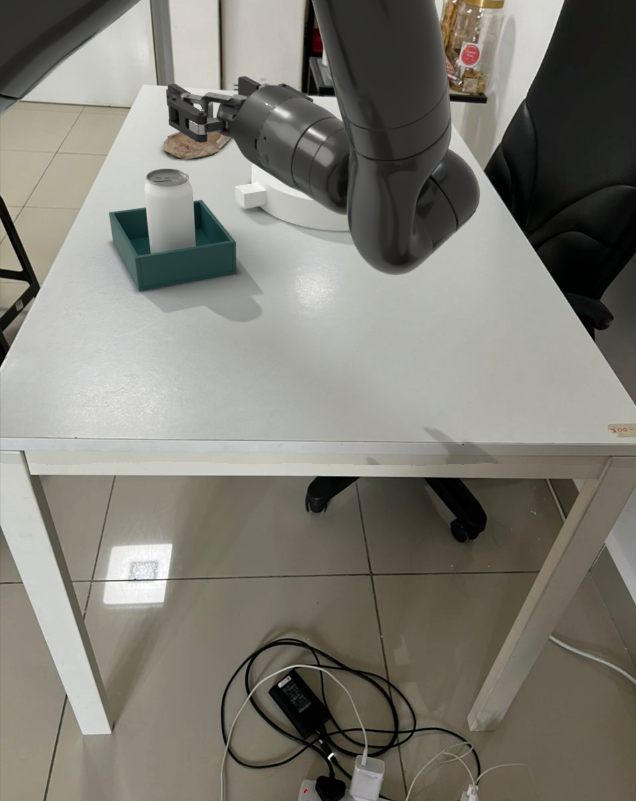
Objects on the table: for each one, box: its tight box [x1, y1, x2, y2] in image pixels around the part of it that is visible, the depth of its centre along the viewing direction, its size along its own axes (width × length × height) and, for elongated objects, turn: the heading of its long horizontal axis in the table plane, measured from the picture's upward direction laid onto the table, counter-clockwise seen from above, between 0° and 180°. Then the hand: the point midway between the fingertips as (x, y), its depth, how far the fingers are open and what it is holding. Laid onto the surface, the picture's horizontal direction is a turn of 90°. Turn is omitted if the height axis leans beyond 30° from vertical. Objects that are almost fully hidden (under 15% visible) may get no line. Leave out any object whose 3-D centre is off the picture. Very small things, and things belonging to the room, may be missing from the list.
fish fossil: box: [162, 117, 232, 161], centre depth 132 cm, size 26×10×1 cm, turn 167°
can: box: [143, 168, 196, 254], centre depth 90 cm, size 6×6×12 cm
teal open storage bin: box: [108, 199, 237, 292], centre depth 93 cm, size 14×14×5 cm
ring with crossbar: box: [234, 162, 350, 232], centre depth 115 cm, size 28×28×5 cm
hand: (206, 89), depth 69 cm, fingers open, 8 cm apart
